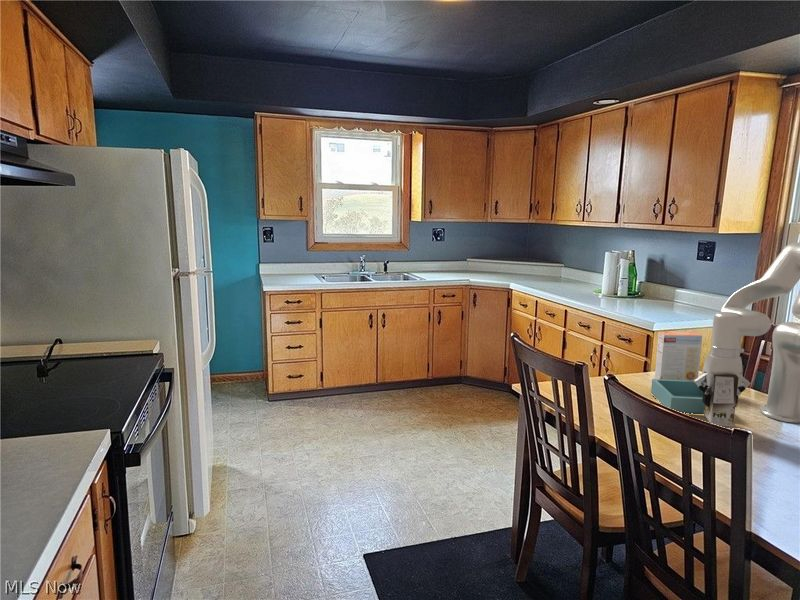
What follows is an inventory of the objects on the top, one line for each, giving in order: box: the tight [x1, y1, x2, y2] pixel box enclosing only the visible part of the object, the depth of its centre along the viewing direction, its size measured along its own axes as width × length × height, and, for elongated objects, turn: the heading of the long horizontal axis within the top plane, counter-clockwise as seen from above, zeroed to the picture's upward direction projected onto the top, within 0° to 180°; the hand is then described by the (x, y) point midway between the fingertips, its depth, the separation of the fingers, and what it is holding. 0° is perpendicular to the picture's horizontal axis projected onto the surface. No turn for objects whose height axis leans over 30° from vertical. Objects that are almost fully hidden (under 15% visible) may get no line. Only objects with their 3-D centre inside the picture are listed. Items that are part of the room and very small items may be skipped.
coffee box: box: [704, 375, 739, 427], centre depth 156 cm, size 9×6×16 cm
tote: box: [650, 378, 705, 414], centre depth 173 cm, size 18×18×6 cm
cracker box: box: [654, 331, 703, 381], centre depth 191 cm, size 14×6×21 cm, turn 84°
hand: (719, 404), depth 156 cm, fingers closed on coffee box, 7 cm apart
